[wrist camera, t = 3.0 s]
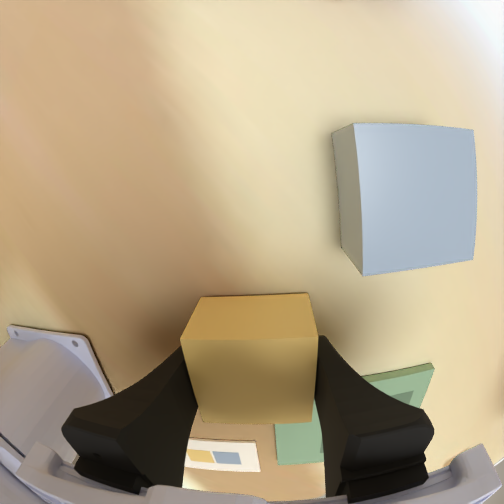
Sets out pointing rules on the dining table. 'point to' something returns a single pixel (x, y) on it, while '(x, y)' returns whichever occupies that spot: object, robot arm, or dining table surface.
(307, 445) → the plate
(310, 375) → the brick
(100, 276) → the dining table surface
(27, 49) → the dining table surface
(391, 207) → the brick
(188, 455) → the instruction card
